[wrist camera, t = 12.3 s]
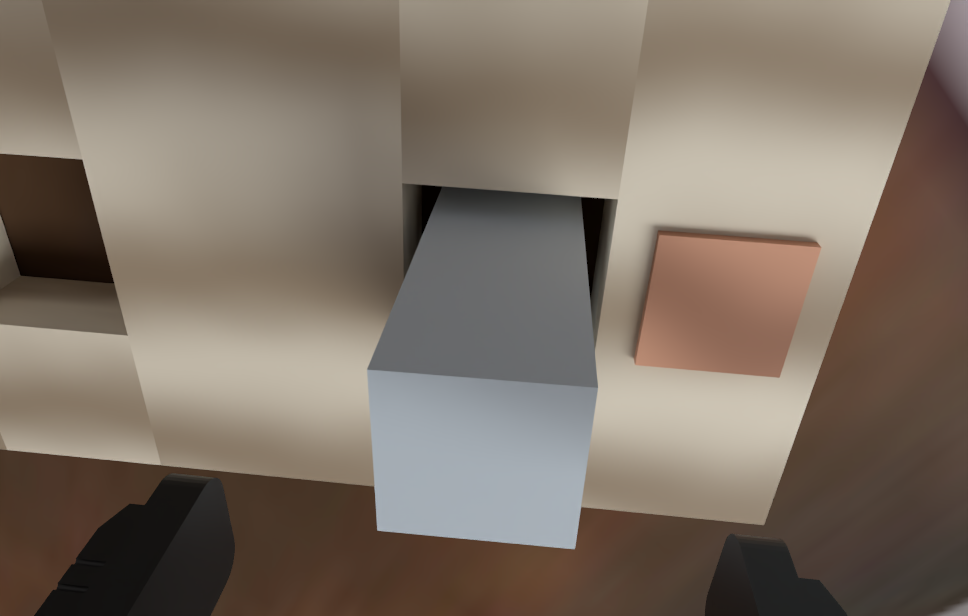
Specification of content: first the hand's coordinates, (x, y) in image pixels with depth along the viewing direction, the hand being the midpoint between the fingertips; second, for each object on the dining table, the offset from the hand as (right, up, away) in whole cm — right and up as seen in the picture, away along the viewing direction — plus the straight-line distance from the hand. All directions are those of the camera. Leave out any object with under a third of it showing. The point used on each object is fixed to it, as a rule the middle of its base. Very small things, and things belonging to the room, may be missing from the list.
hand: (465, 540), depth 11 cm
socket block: (-6, +6, +11) cm, 14 cm away
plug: (+1, +6, +10) cm, 12 cm away
